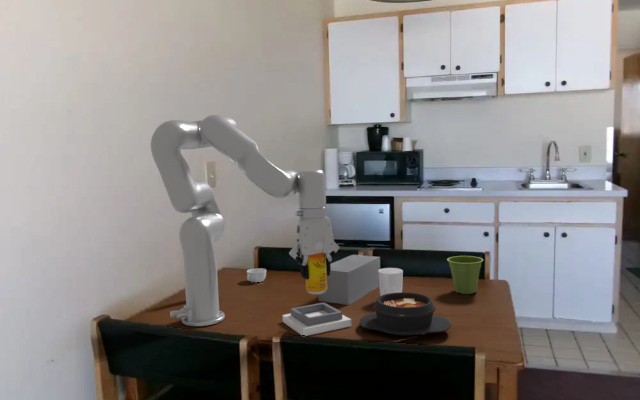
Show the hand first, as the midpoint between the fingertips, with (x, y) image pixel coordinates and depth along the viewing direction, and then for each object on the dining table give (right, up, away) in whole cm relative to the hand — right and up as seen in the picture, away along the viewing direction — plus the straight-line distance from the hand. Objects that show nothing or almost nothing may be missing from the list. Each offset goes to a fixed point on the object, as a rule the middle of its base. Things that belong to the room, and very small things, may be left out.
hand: (315, 275), depth 147 cm
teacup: (-23, -10, +51) cm, 57 cm away
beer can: (0, -5, 0) cm, 5 cm away
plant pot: (+51, -10, +30) cm, 60 cm away
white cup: (+24, -11, +22) cm, 35 cm away
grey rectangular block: (+7, -11, +35) cm, 37 cm away
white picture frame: (0, -14, +1) cm, 14 cm away
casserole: (+24, -14, -5) cm, 29 cm away
